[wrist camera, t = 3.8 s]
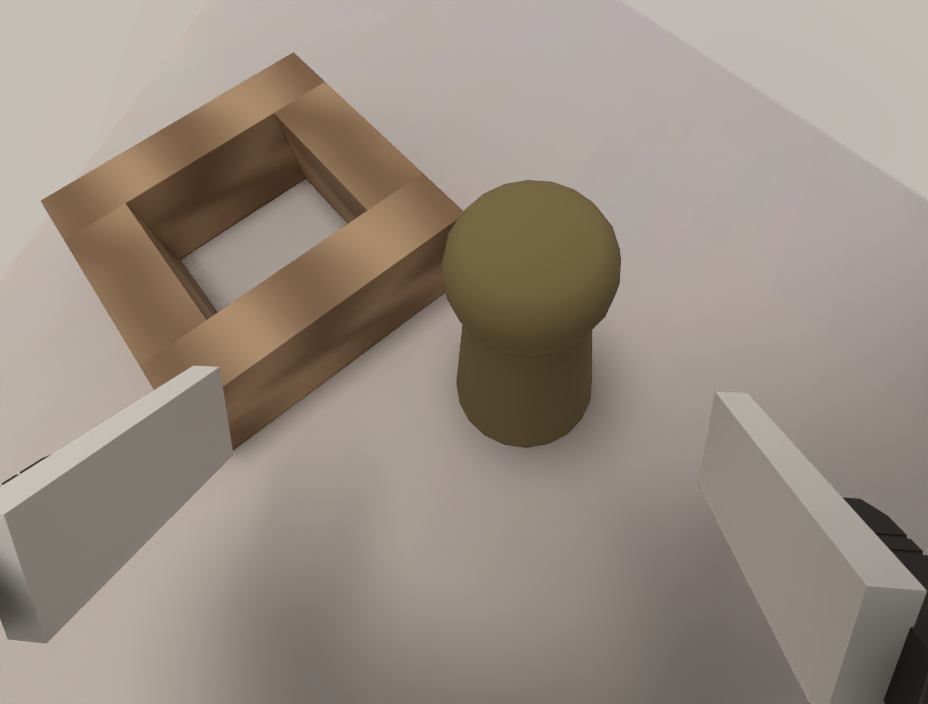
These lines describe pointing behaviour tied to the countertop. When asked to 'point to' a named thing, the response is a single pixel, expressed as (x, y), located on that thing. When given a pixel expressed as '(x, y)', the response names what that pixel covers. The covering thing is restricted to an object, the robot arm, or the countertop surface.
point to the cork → (529, 307)
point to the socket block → (231, 199)
